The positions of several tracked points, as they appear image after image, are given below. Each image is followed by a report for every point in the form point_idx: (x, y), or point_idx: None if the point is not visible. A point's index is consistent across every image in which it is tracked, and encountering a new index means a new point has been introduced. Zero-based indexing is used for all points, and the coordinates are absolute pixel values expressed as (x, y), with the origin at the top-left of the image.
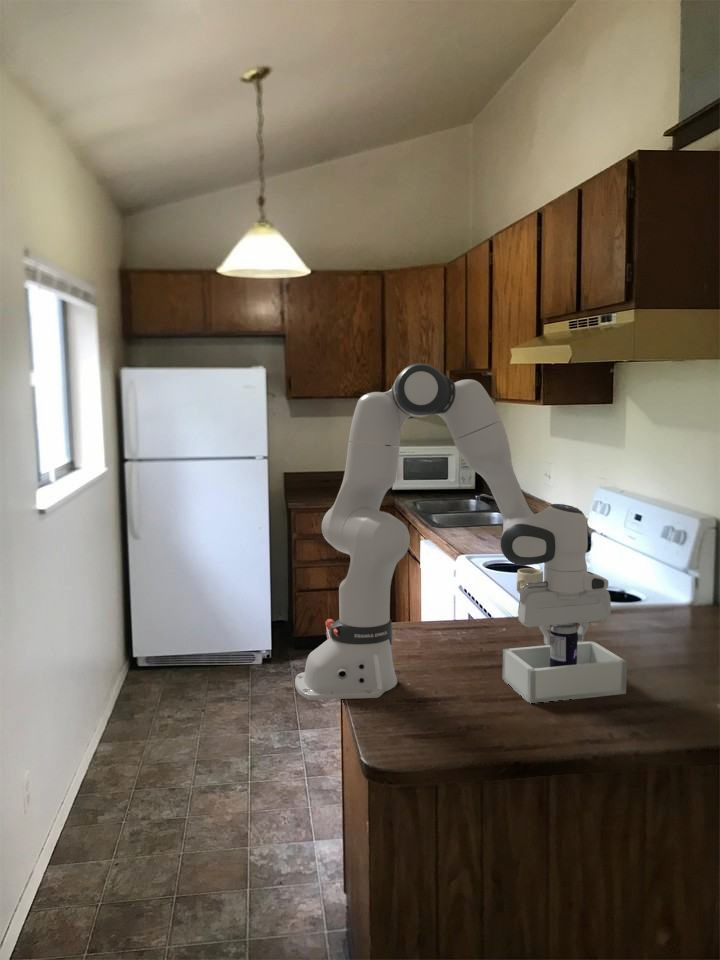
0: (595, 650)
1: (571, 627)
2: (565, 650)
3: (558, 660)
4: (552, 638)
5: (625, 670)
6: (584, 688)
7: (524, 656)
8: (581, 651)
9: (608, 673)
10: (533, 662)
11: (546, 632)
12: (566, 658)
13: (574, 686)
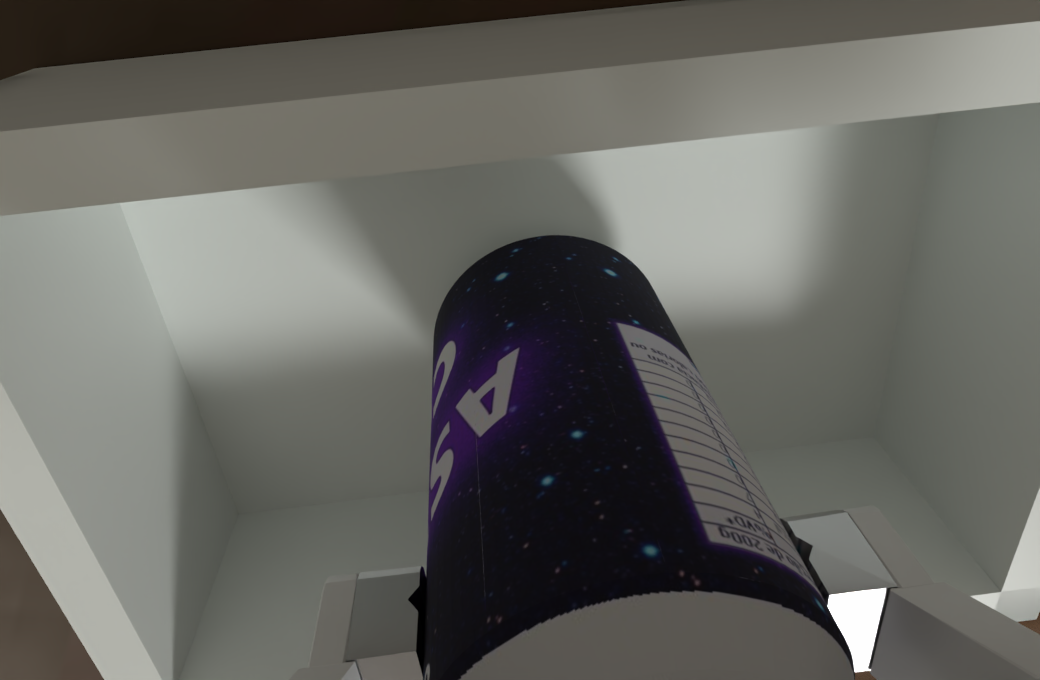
0: (156, 601)
1: None
2: (652, 398)
3: (682, 354)
4: (847, 575)
5: None
6: (467, 37)
7: None
8: (285, 622)
9: (147, 92)
10: None
11: (1025, 650)
12: (614, 338)
13: (585, 29)
